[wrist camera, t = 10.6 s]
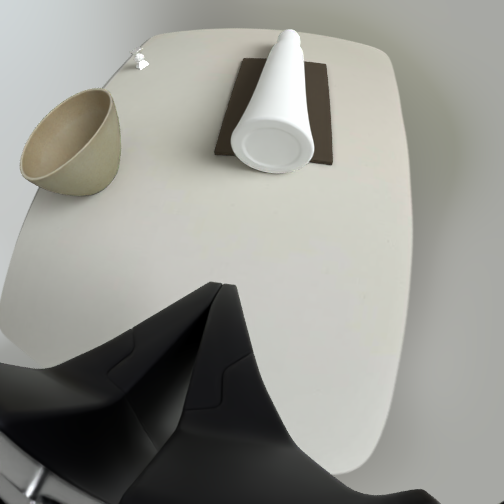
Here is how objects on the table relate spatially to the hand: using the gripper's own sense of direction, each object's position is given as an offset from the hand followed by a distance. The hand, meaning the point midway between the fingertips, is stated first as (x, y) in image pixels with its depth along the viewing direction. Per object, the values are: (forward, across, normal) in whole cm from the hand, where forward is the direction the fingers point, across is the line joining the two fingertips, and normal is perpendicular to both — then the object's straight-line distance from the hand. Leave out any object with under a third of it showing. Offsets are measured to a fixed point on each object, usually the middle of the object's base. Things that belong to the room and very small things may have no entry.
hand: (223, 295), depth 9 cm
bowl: (+15, +16, -1) cm, 22 cm away
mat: (+22, 0, -8) cm, 23 cm away
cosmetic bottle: (+13, 0, -3) cm, 13 cm away
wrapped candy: (+28, +20, -14) cm, 37 cm away
